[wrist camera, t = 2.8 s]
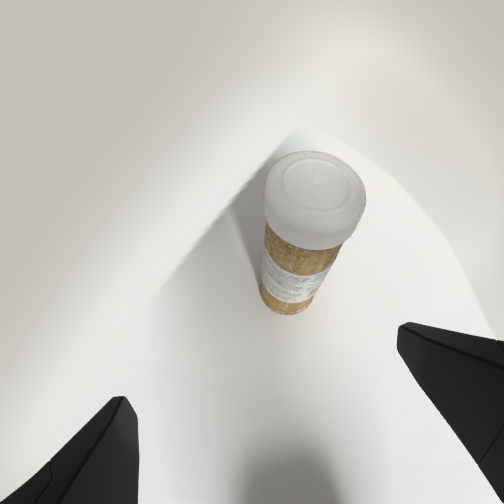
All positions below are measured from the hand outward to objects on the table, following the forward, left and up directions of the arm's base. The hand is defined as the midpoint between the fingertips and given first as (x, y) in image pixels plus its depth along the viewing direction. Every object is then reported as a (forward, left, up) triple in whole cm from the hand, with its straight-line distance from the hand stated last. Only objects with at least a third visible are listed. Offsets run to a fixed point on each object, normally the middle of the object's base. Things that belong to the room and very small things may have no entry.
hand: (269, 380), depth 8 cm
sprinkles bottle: (-1, -8, -14) cm, 16 cm away
